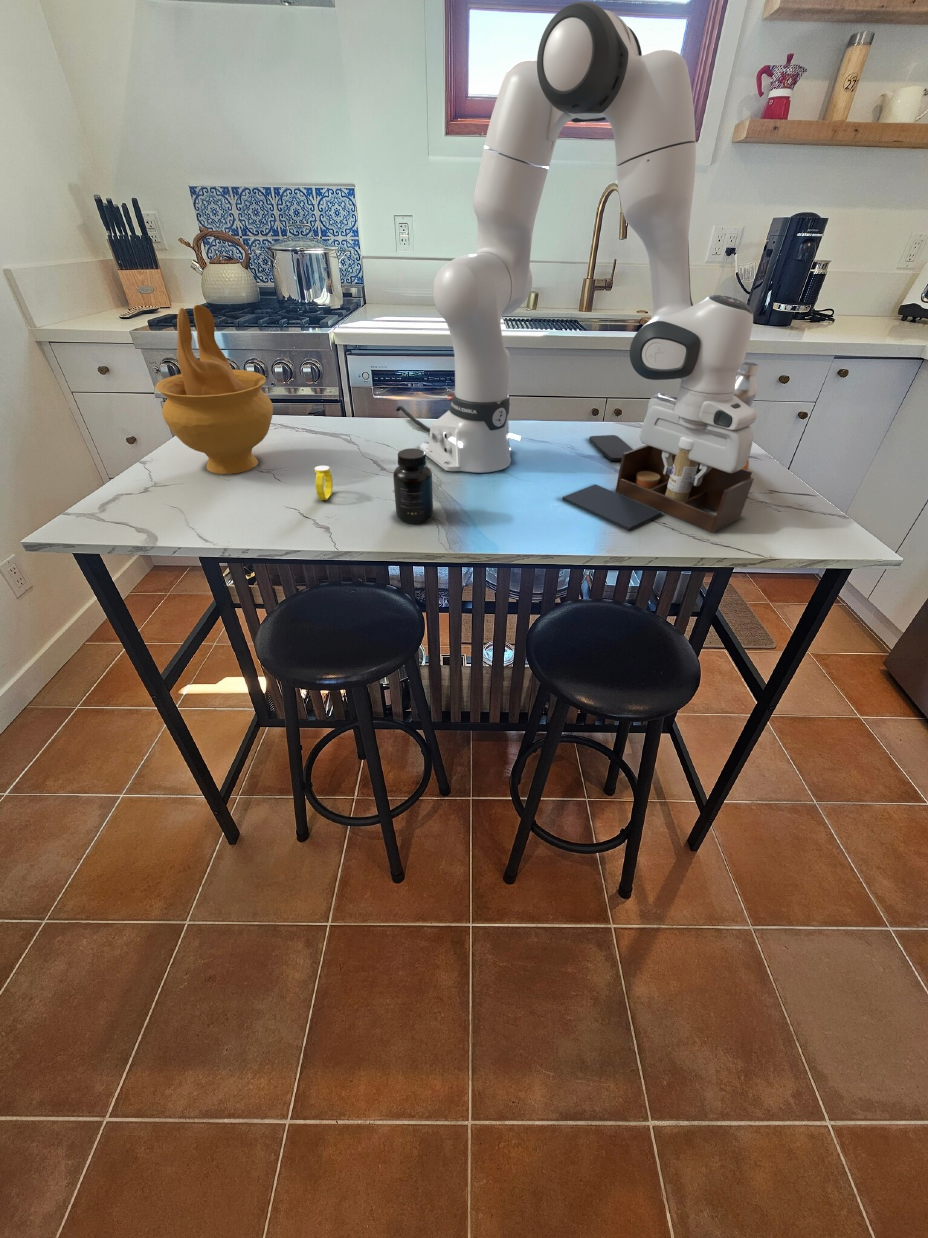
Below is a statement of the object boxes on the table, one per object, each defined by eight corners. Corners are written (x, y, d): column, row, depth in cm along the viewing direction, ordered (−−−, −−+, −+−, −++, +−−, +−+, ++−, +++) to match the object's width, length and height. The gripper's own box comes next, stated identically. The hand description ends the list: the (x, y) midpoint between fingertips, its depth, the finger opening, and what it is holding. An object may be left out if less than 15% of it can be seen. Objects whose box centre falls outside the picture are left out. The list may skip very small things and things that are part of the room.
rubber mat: (562, 499, 108) (562, 496, 107) (594, 486, 113) (595, 484, 112) (628, 530, 98) (629, 527, 98) (661, 515, 103) (662, 512, 103)
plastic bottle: (742, 457, 127) (773, 365, 115) (724, 463, 124) (754, 369, 112) (718, 449, 131) (745, 358, 119) (700, 454, 128) (726, 362, 116)
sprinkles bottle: (658, 499, 108) (676, 431, 100) (681, 498, 109) (700, 431, 101) (668, 510, 105) (686, 440, 97) (690, 509, 105) (711, 440, 97)
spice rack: (615, 491, 111) (623, 448, 106) (642, 480, 116) (651, 438, 110) (713, 533, 98) (729, 485, 92) (739, 518, 103) (756, 472, 97)
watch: (328, 504, 104) (324, 474, 101) (314, 503, 104) (309, 474, 101) (337, 491, 109) (333, 462, 105) (323, 490, 109) (319, 461, 105)
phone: (616, 434, 136) (642, 456, 124) (615, 437, 136) (641, 460, 124) (587, 435, 134) (611, 458, 123) (587, 439, 135) (610, 461, 123)
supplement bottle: (398, 507, 104) (394, 445, 96) (434, 508, 104) (433, 446, 96) (393, 524, 98) (389, 459, 91) (431, 525, 98) (430, 461, 91)
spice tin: (628, 491, 111) (631, 474, 109) (641, 485, 114) (645, 468, 111) (647, 499, 109) (651, 482, 106) (660, 493, 111) (665, 476, 109)
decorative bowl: (243, 490, 108) (201, 320, 90) (157, 475, 113) (101, 311, 95) (301, 454, 124) (276, 302, 106) (223, 441, 129) (186, 295, 111)
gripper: (641, 393, 100) (626, 466, 108) (748, 423, 88) (721, 502, 96) (661, 387, 103) (645, 459, 112) (767, 415, 91) (740, 493, 99)
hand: (681, 479), depth 104 cm, fingers closed on sprinkles bottle, 4 cm apart
